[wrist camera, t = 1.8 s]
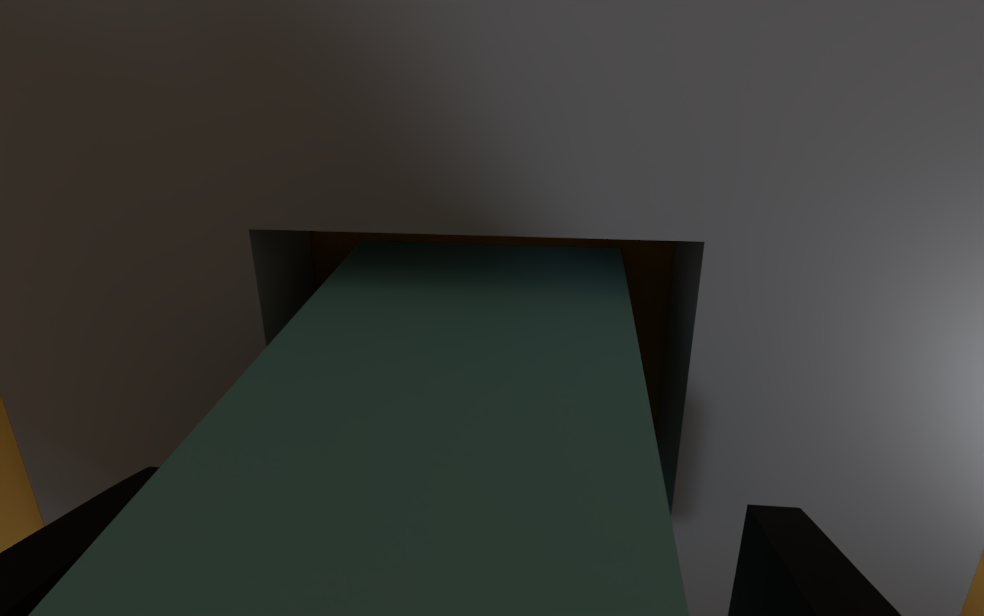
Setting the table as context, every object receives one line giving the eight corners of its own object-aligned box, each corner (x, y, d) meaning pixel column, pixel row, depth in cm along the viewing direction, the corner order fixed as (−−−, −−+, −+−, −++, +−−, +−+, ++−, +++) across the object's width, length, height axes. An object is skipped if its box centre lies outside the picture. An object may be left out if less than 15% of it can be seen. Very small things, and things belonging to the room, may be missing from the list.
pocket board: (821, 794, 15) (855, 905, 13) (191, 729, 16) (143, 822, 14) (1128, -266, 8) (1304, -350, 6) (-59, -217, 9) (-222, -273, 7)
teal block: (598, 556, 13) (629, 1274, 6) (386, 540, 13) (159, 1192, 6) (621, 247, 10) (724, 809, 3) (360, 240, 11) (-67, 722, 4)
